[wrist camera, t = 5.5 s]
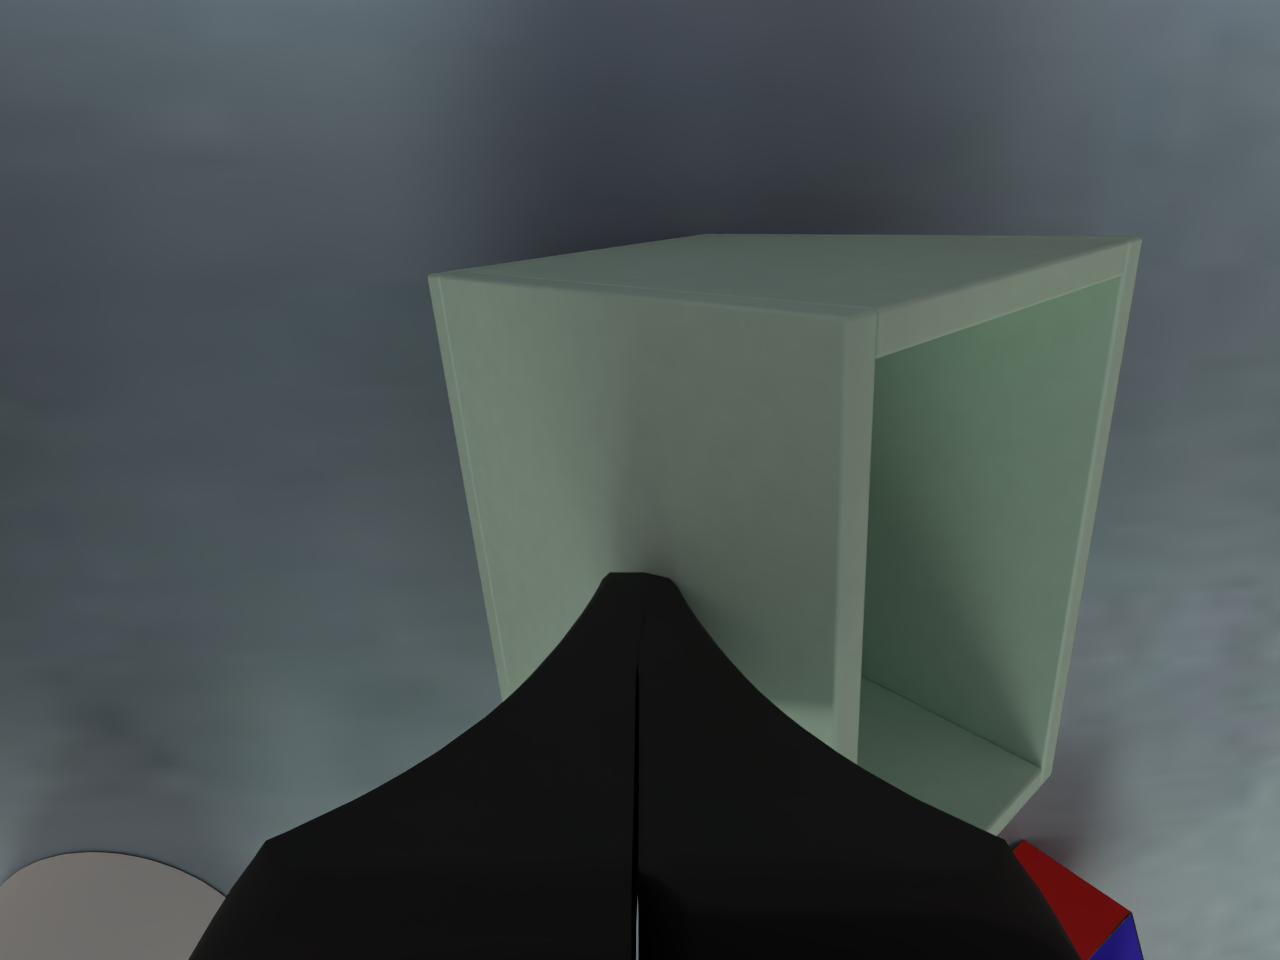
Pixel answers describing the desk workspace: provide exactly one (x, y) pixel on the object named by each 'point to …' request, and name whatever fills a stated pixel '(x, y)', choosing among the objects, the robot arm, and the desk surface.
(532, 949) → the robot arm
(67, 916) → the cylinder container
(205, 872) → the desk surface
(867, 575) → the bin
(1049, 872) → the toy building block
